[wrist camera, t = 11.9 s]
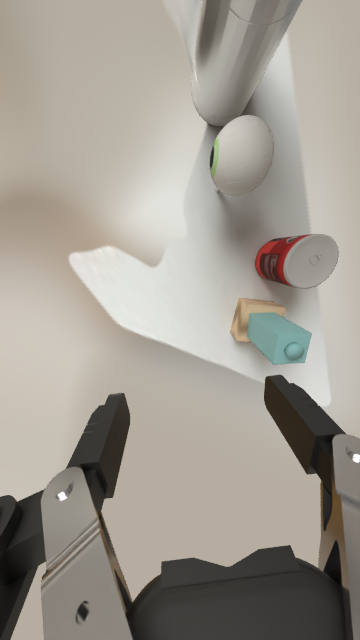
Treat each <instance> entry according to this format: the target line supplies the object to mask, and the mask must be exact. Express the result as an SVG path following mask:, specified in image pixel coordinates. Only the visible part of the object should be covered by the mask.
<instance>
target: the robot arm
mask: <svg viewBox="0 0 360 640" xmlns="http://www.w3.org/2000/svg"><path fill="white" fill-rule="evenodd" d="M301 2H302V0H201V7H200V15H199V23H198V31H197V39H196V47H195V54H194V62H193V70H192V79H191V94H192V98H193V103H194V105H195V108H196V110H197V112H198V113H199V115H200V116H201V117H202V118H203V119H204V120H205V121H206V122H208V123H209V124H211V125H214V126H225V125H226V124H228V123H229V122H230V121H232V120H234V119H235V118H237V117H239V116H240V115H241V114H242V112H243V111H244V109H245V107H246V106H247V104H248V102H249V100H250V98H251V96H252V94H253V92H254V91H255V89H256V87H257V85H258V83H259V81H260V80H261V78H262V76H263V74H264V72H265V70H266V68H267V66H268V64H269V63H270V61H271V59H272V57H273V55H274V53H275V51H276V49H277V48H278V46H279V44H280V42H281V40H282V38H283V36H284V34H285V32H286V31H287V29H288V27H289V25H290V23H291V21H292V19H293V17H294V15H295V14H296V11H297V10H298V8H299V6H300V4H301ZM264 401H265V405H266V408H267V410H268V411H269V413H270V415H271V416H272V418H273V419H274V421H275V423H276V424H277V426H278V427H279V429H280V431H281V433H282V434H283V436H284V437H285V439H286V441H287V442H288V444H289V446H290V447H291V449H292V450H293V452H294V454H295V456H296V457H297V459H298V460H299V462H300V464H301V465H302V467H303V468H304V470H305V472H306V473H307V474H315V473H317V474H318V476H319V477H320V479H321V484H320V490H321V542H320V549H319V563H318V568H317V567H315V566H314V565H312V564H310V563H308V562H306V561H303V560H301V559H299V558H295V556H294V553H293V551H292V548H291V546H290V545H288V546H280V547H273V548H265V549H258V550H257V551H255V552H254V553H252V554H250V555H249V556H247V557H246V558H244V559H242V560H241V561H239V562H237V563H236V564H234V565H233V566H230V567H225V566H221V565H217V564H214V563H210V562H207V561H203V560H199V559H196V558H188V559H180V560H172V561H164V562H162V566H161V574H160V575H158V576H157V577H155V578H154V579H153V580H152V581H150V582H149V583H148V584H147V585H146V586H145V587H144V588H143V590H142V591H141V592H140V593H139V594H138V596H137V597H136V599H135V600H134V601H132V598H131V596H130V592H129V589H128V587H127V584H126V581H125V578H124V576H123V573H122V571H121V568H120V566H119V563H118V560H117V557H116V554H115V551H114V548H113V545H112V543H111V539H110V536H109V533H108V530H107V527H106V524H105V521H104V518H103V515H102V512H101V509H102V505H103V502H104V499H106V498H113V495H114V491H115V487H116V482H117V478H118V473H119V469H120V465H121V460H122V456H123V452H124V447H125V443H126V439H127V434H128V430H129V426H130V413H129V409H128V405H127V401H126V398H125V394H124V393H118V394H110V395H109V396H108V398H107V400H106V403H105V405H101V406H99V407H98V408H97V409H96V410H95V411H94V412H93V413H92V415H91V417H90V419H89V421H88V425H87V426H86V428H85V430H84V433H83V434H82V436H81V438H80V440H79V442H78V445H77V447H76V449H75V451H74V453H73V455H72V457H71V459H70V461H69V463H68V466H67V467H66V469H65V470H63V471H62V472H60V473H59V474H57V475H56V476H55V477H54V478H53V479H52V480H51V481H50V482H49V484H48V485H47V487H46V488H45V489H44V490H42V491H40V492H38V493H35V494H33V495H31V496H29V497H27V498H25V499H22V500H20V501H18V502H17V501H16V500H15V498H13V497H12V496H10V495H6V496H2V497H0V640H10V639H11V636H12V634H13V631H14V628H15V626H16V623H17V621H18V618H19V615H20V613H21V610H22V607H23V605H24V602H25V599H26V597H27V594H28V592H29V589H30V586H31V584H32V581H33V578H34V576H35V573H36V571H37V568H38V566H39V565H40V564H42V563H44V562H46V573H45V574H44V575H43V577H42V581H41V600H42V613H43V614H42V615H43V629H44V640H360V439H359V438H356V437H354V436H351V435H347V434H346V433H345V432H344V431H343V430H342V429H341V428H340V427H339V426H338V425H337V424H336V423H335V422H334V421H333V420H332V419H331V418H330V417H329V416H328V415H327V414H326V413H325V411H324V410H323V409H322V408H321V407H320V406H318V405H317V403H316V402H315V401H314V400H313V399H311V397H310V396H309V395H308V394H307V393H306V392H305V391H304V390H303V389H302V388H300V387H299V386H297V385H295V384H294V383H290V384H289V382H288V381H287V380H286V379H285V378H284V377H283V376H282V375H274V376H267V377H266V379H265V391H264Z"/></svg>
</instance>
